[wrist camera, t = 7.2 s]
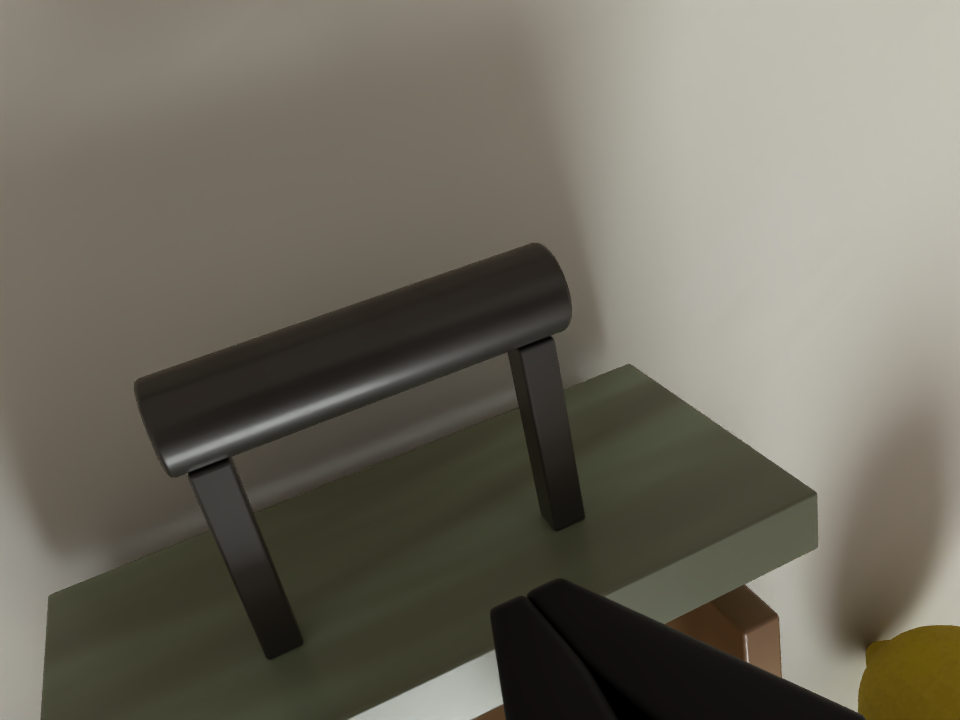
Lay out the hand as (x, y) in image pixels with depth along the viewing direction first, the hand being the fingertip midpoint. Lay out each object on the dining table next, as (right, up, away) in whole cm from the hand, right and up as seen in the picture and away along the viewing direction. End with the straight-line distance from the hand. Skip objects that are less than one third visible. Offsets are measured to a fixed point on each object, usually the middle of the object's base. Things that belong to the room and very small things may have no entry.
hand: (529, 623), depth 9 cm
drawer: (-2, -4, +11) cm, 12 cm away
